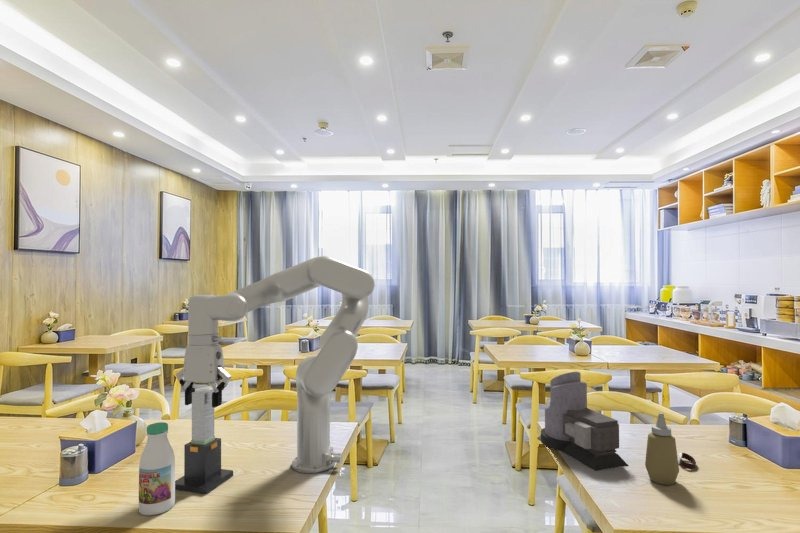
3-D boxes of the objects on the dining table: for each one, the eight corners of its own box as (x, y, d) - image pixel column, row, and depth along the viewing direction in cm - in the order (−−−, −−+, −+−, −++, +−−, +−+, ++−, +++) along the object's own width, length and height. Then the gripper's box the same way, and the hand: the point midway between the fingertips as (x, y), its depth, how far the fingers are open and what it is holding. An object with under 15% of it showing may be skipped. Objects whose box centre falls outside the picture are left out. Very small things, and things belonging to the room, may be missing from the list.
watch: (676, 459, 137) (676, 447, 137) (695, 462, 134) (695, 450, 134) (677, 468, 130) (677, 456, 130) (697, 472, 128) (696, 459, 128)
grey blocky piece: (528, 436, 156) (528, 365, 157) (568, 431, 161) (567, 362, 161) (589, 472, 128) (588, 385, 128) (634, 465, 132) (633, 381, 133)
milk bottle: (147, 500, 113) (148, 420, 113) (180, 499, 113) (180, 419, 114) (132, 517, 105) (132, 430, 105) (166, 515, 105) (167, 429, 106)
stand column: (214, 452, 124) (214, 389, 124) (204, 458, 120) (204, 393, 120) (201, 450, 125) (201, 388, 125) (191, 456, 121) (191, 392, 121)
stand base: (233, 475, 126) (233, 436, 126) (206, 494, 116) (206, 451, 116) (199, 471, 129) (199, 432, 129) (170, 489, 118) (171, 447, 119)
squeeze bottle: (667, 490, 117) (666, 420, 117) (638, 477, 124) (637, 411, 124) (686, 483, 120) (685, 415, 121) (656, 471, 128) (656, 407, 128)
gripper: (239, 339, 124) (239, 403, 124) (186, 337, 129) (186, 399, 129) (222, 343, 117) (222, 411, 117) (166, 341, 122) (166, 406, 121)
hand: (203, 404), depth 123 cm, fingers open, 8 cm apart
